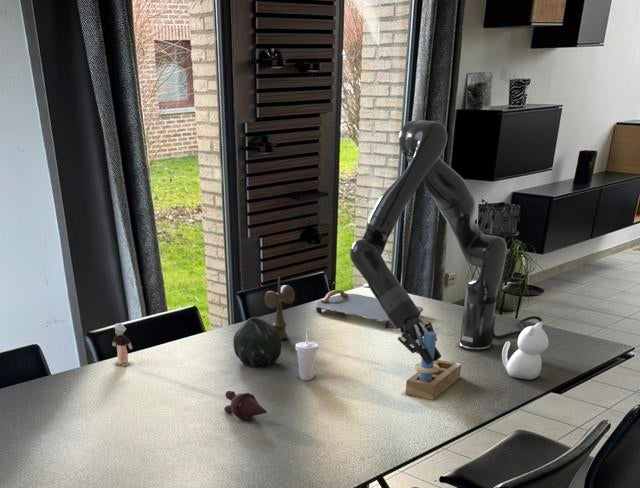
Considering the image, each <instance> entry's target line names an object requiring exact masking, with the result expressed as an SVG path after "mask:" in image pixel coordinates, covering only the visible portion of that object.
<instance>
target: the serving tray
mask: <svg viewBox="0 0 640 488" xmlns="http://www.w3.org/2000/svg"><path fill="white" fill-rule="evenodd" d="M336 294H337V295H336ZM416 307H417V308H418V310H419V311H420V314H419V315H418V318H419V317H420V316H421V313H422V312H423V311H424V308H423V307H421V306H418V305H416ZM313 308H315V312H316V313H318V314H320V313H321V312H322V311H323V310H326V311H331V312H335V313H340V314H344V315H349V316H353V317H359V318H362V319H366V320H367V319H368V320H371V321H376V322H380V323H383V327H384V328H385V329H389V328H390V327H391V321H390V320H389V318H388V317H387V315H386V314H385V312H384V311H383V309H382V308H381V306H380V304H379V302H378V300H377V299H376V297H375V296H367V295H362V294H357V293H347V292H344V291H343V289H333V290H331V291H329V292H328V293H326V295H325V296H324V298H323V299H321V300H319V301H317V302H316V303H314V304H313Z"/></svg>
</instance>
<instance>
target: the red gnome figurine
mask: <svg viewBox="0 0 640 488" xmlns="http://www.w3.org/2000/svg"><path fill="white" fill-rule="evenodd" d="M224 396H225V398H226V399H227V400H229V401H230V404H227V405H225V407H224V409H223V410H224V412H225V413H227V414H234V416H235V417H237V418H238V419H239V420H242V421H248V420H249V419H252V418H253V417H254V416H259V415H263V414H267V413H268V410H266V408H264V407H263V406H262V405H261V404H260V403H259V402H258V400H257V399H256V397H255V395H254V394H252V393H250V392H243V393H237V394H236V392H235V391H234V390H227V391H225V395H224Z"/></svg>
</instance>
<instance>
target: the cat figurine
mask: <svg viewBox="0 0 640 488" xmlns="http://www.w3.org/2000/svg"><path fill="white" fill-rule="evenodd" d="M525 327H526V328H525V329H524V330H523V331H522V332H521V333H519V335H518V338H517V348H518V349H517V350H516V351H515V352H514V353H513V354H512V355H511V356H510V358H509V359H508V352H509V349H510V346H511V342H510V340H509V341H506V342H505V343H504V345H503V347H502V351H501V359H502V365H503V367H504V368H505V370H506V373H507V375H509V376H510V377H512V378H516V379H522V380H528V381H529V380H534V379H536V378H537V377H538V376H539V375H540V374H541V371H542V365H543V361H542V357H541V354H542V353H544V352H545V351H546V350H547V349H548V348H549V343H550V342H549V337H548V335H547V333H546V331H545V330H544V329H543V322H542V321H539V322H537V323H536V324H535V325H530V326H525Z"/></svg>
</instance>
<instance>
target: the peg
mask: <svg viewBox="0 0 640 488" xmlns="http://www.w3.org/2000/svg"><path fill="white" fill-rule="evenodd" d="M422 338H423V343H424V345H425V347H426V348H427V350H428V351H429V353H430V354H431V356H432V357H433V359H434V353H435V347H436V344H437V341H436V338H437V332H435V331H434V332H424V336H423V337H422ZM426 348H425V349H426ZM420 359H421V360H420V362H417V363H416V364H414V366H413V367H414V368H413V369H414V371H416V372H420V379H419V380H421V381H426V382H431V381H432V373H435V372H437V371H439V366H438V365H437V364H434V363H433V362H434V361H433V362H431V363H430V364H428V365H427V364H426V363H425V362H424V360H423V358H422V357H421V358H420Z"/></svg>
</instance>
